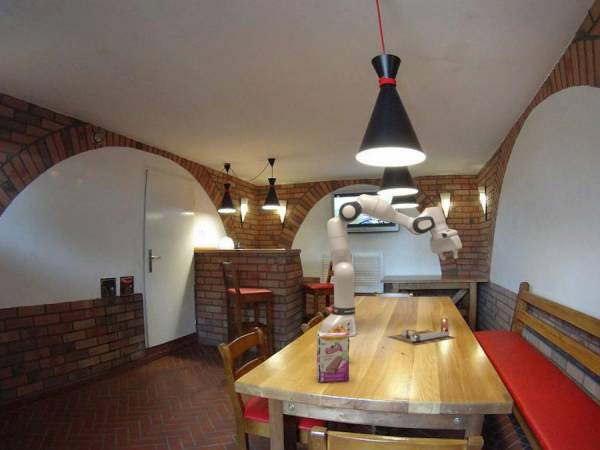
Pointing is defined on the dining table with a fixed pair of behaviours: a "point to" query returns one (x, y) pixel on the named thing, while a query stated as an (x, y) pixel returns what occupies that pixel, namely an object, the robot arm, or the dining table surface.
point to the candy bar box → (332, 357)
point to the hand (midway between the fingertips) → (449, 259)
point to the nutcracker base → (404, 338)
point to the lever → (441, 333)
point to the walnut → (411, 333)
